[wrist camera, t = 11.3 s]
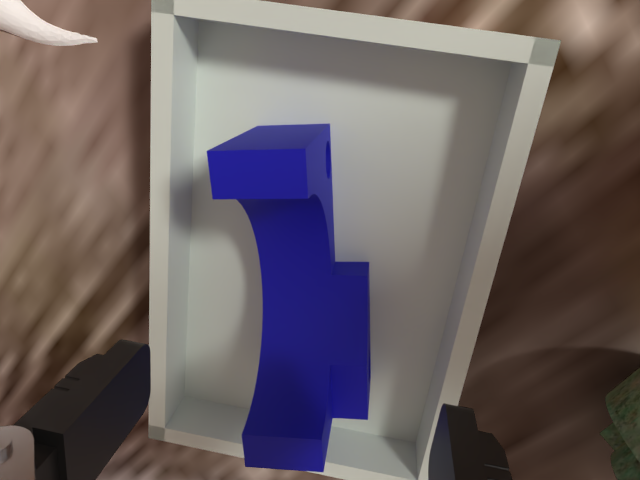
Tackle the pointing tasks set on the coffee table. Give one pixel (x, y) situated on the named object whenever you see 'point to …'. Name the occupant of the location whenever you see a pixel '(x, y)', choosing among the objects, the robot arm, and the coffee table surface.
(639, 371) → the decorative artifact
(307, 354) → the blue curved bracket
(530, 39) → the parts tray
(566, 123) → the coffee table surface
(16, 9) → the tree stump
